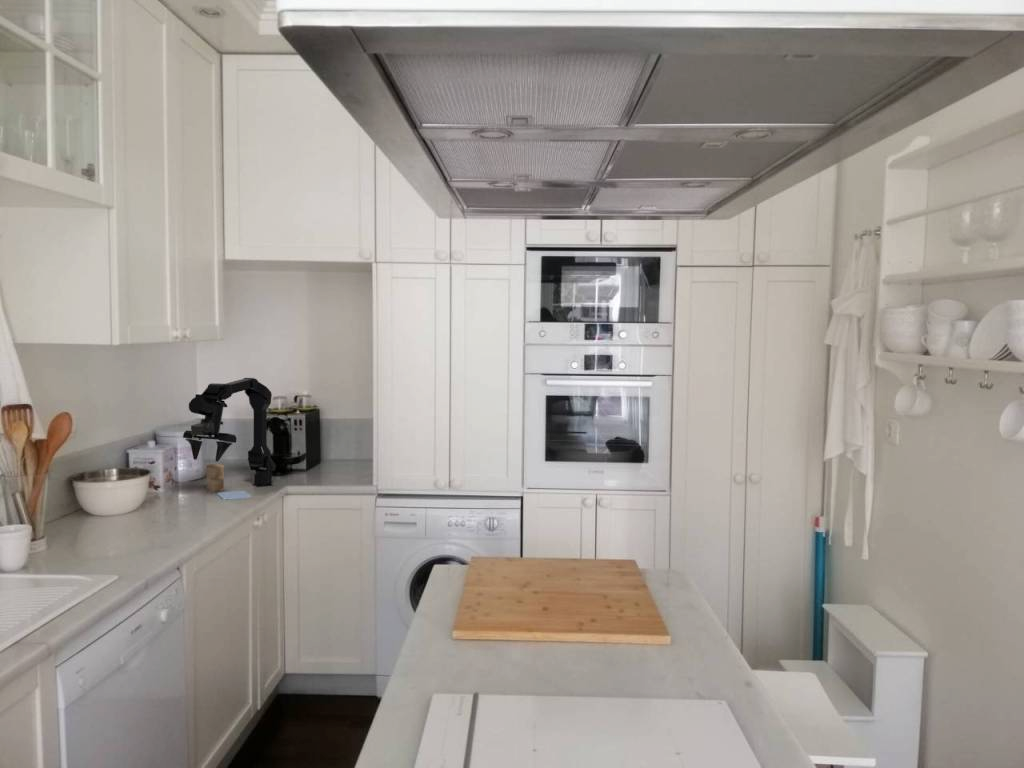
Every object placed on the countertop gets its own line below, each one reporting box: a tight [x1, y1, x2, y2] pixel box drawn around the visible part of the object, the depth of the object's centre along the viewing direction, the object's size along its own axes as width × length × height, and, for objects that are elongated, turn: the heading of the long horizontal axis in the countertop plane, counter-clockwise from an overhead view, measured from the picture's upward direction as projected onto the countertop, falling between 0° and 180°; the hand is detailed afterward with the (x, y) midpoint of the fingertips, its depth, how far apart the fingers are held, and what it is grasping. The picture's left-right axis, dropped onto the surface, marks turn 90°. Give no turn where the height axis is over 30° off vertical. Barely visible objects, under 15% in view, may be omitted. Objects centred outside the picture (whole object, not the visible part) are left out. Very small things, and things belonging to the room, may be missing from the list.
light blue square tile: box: [216, 490, 252, 501], centre depth 270 cm, size 10×10×1 cm
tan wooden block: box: [206, 463, 225, 493], centre depth 277 cm, size 4×4×10 cm
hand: (205, 460), depth 257 cm, fingers open, 9 cm apart
